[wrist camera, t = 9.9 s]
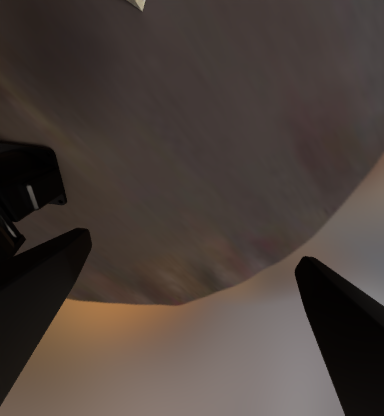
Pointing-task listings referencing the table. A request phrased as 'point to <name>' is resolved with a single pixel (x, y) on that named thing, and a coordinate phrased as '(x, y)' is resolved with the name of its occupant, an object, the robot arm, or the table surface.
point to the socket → (138, 3)
